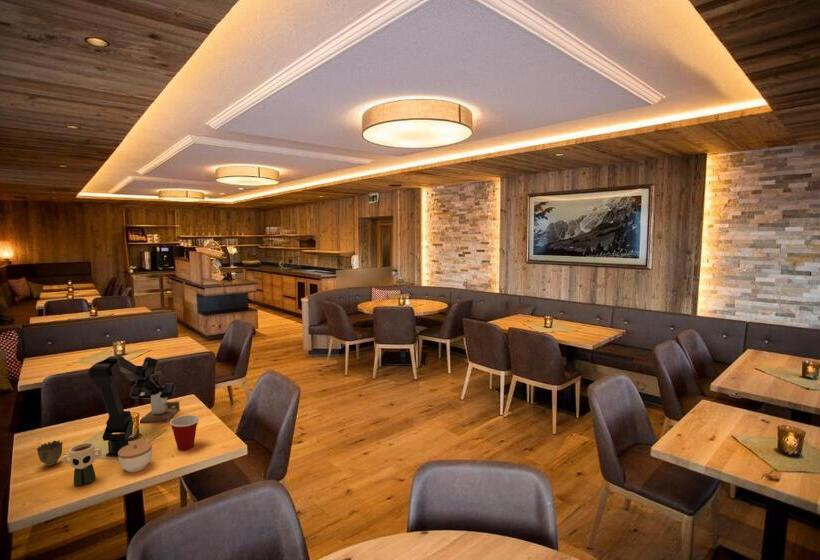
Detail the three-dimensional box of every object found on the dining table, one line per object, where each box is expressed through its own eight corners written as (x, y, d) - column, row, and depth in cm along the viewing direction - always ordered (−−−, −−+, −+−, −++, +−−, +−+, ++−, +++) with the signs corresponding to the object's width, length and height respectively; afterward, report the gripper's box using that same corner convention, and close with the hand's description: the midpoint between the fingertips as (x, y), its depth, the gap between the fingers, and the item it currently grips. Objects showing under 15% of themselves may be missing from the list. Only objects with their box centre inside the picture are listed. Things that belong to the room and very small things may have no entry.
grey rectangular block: (162, 413, 200) (161, 389, 199) (151, 414, 200) (150, 390, 198) (167, 409, 205) (166, 386, 204) (156, 410, 204) (155, 386, 203)
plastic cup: (198, 451, 169) (196, 423, 168) (168, 455, 166) (166, 426, 165) (203, 439, 180) (201, 412, 179) (175, 442, 177) (173, 415, 175)
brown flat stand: (166, 422, 196) (165, 412, 196) (139, 423, 195) (138, 413, 195) (179, 410, 210) (179, 400, 210) (154, 411, 209) (153, 401, 208)
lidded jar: (129, 461, 162) (127, 438, 161) (158, 459, 163) (156, 436, 162) (113, 477, 152) (110, 452, 151) (144, 475, 153) (142, 450, 152)
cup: (34, 467, 158) (32, 447, 157) (56, 458, 165) (55, 438, 164) (46, 471, 155) (44, 451, 154) (68, 462, 162) (66, 442, 161)
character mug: (63, 491, 143) (59, 455, 142) (67, 481, 149) (64, 446, 148) (102, 482, 148) (99, 447, 147) (105, 472, 155) (102, 439, 153)
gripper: (173, 366, 197) (184, 381, 209) (131, 368, 195) (145, 383, 207) (166, 389, 190) (178, 403, 202) (122, 390, 188) (137, 404, 200)
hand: (160, 397), depth 203 cm, fingers closed on grey rectangular block, 5 cm apart
